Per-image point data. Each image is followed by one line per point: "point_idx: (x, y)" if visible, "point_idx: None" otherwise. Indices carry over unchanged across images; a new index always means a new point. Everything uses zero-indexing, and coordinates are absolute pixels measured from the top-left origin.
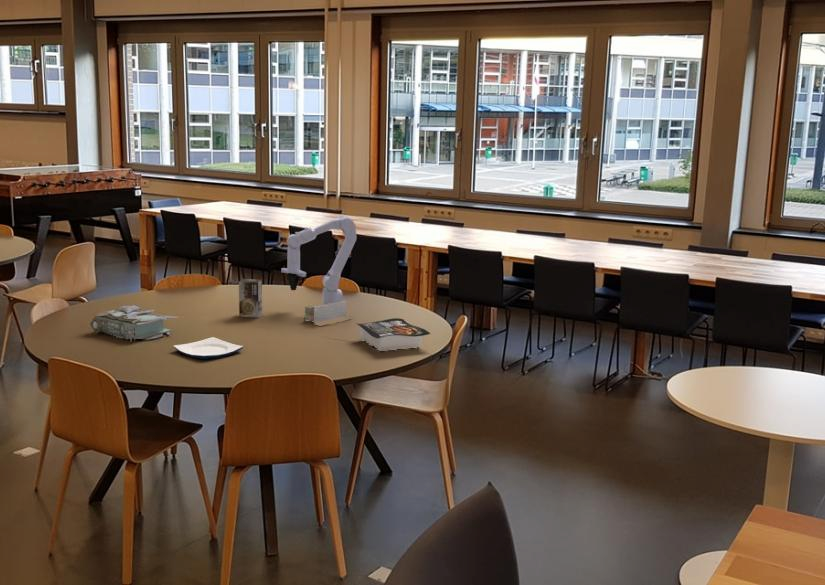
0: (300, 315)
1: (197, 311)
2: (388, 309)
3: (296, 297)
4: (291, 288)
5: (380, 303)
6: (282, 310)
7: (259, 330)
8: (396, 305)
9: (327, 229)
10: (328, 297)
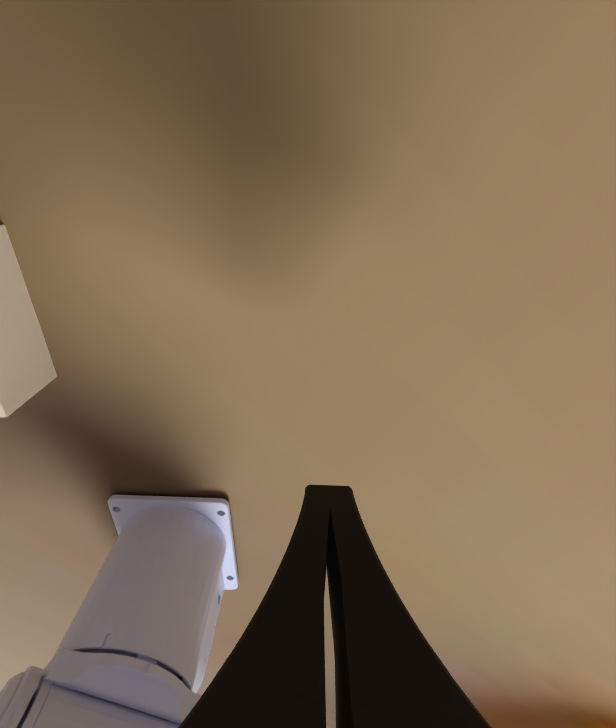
0: (112, 263)
1: None
2: (15, 661)
3: (560, 594)
4: (329, 501)
5: None
6: (378, 282)
7: None
8: None
9: None
10: (96, 595)
